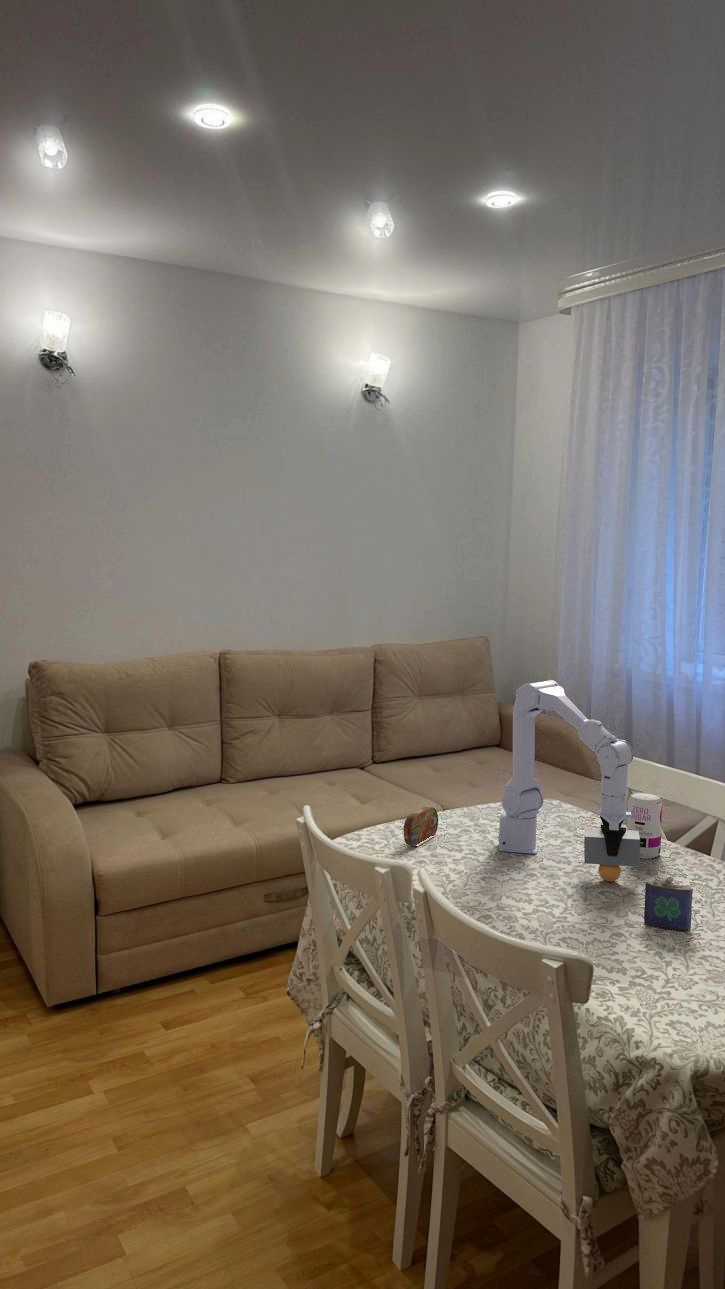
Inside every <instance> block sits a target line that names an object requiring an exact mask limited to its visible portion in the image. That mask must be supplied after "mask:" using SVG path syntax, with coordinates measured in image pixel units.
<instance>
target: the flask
mask: <svg viewBox="0 0 725 1289" xmlns="http://www.w3.org/2000/svg"><path fill="white" fill-rule="evenodd" d="M665 879H666V880H664V881H660V880H658V881H657V879H654V880H648V881H646V882H645V888H644V889H645V891H644V912H643V922H644V925H645V926H646V927H651V928H656V929H660V930H668V931H673V932H674V931H675V932H676V931H677V932H681V933H682V932H687V933H688V932H690V931H691V929H692V916H693V914H692V912H693V911H692V910H693V909H692V908H693V891H694V890H693V888H692V887H691V886H689V885H681V884H680V885H679V884H674V883H673V881H674V877H673V876H666V878H665Z"/></svg>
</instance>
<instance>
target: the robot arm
mask: <svg viewBox="0 0 725 1289" xmlns="http://www.w3.org/2000/svg"><path fill="white" fill-rule="evenodd" d="M545 710H546V711H555V712H556V713H557V714H558V715H560V716H561V717H562V718H563V719H564V720H565V721H567V723H569V724H570V725H571V726H573V727H574V728H575V729H576V730H577V737H578V738H579V739H580V740H581V741H582V742H583V743H584V744H585V745H586V746H587V747H589V749H590V750H591V751H592V752H594V754H595V755H596V760H597V762H598V764H599V768H600V774H601V786H600V808H599V813H598V814H599V818H600V820H601V822H602V824H600V829H601V831H602V833H603V835H604V838H605V843H606V851H607V855H608V856H615V857H617V855H618V851H619V847H620V843H621V840H622V838H623V836H624V834H625V832H626V830H627V827H624V826H623V827H622V824H623V823H624V821H625V820H626V818H627V817H631V812H628V811H627V796H628V793H627V792H628V770H629V769H628V768H629V767H628V766H629V764H631V763H632V762H633V759H634V749H633V747H632V746H631V745H630V743H629V741H627V740H624V739H619V738H617V736H615V734H612V733H610V732H609V730H607V729H606V728H605V726H603V722H601V721H600V720H596V719H589V718H588V717H586V715H584V713H583V712H581V710H580V709H579V708H578V707H577V706H576V705H575V704H574V703H573V702H572V700H570V699H569V698H568V696H567V695H566V693H565V690H564V688H563V687H562V686H560V685H559V684H558V682H556V681H555V680H551V679H549V680H548V679H547V680H546V681H538V682H532V683H527V682H526V683H524V684H522V685H521V686H519V688H517V689H516V690H515V701H514V704H513V707H512V777H511V778H510V779H509V781H507V782H506V784H505V785H504V793H503V795H502V798H501V805H502V809H503V810H504V812H501V813H500V816H499V831H498V833H499V834H498V840H497V841H498V851H499V852H508V853H518V854H533V855H536V854H537V853H538V846H539V842H538V841H537V823H538V821H537V820H538V816H537V815H538V814H539V811H540V809H541V808H542V807H543V805H544V802H545V801H544V795H543V792H542V787H541V786H542V783H541V781H539V780H538V779H537V778H536V777H535V770H536V769H535V768H536V767H535V762H536V761H535V760H536V759H535V756H536V755H535V754H536V753H535V752H536V750H535V748H536V746H535V745H536V743H535V742H536V731H535V730H536V717H537V715H539V714H540V713H541V712H543V711H545Z"/></svg>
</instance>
